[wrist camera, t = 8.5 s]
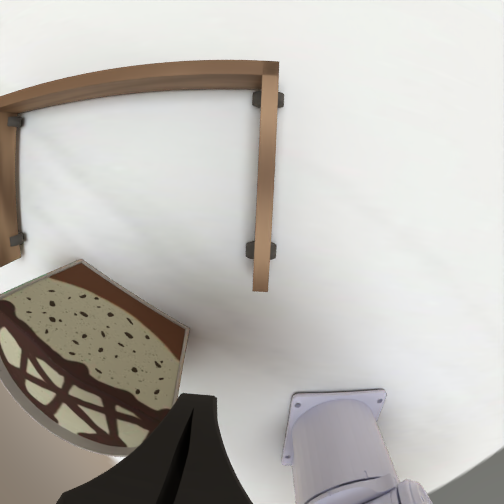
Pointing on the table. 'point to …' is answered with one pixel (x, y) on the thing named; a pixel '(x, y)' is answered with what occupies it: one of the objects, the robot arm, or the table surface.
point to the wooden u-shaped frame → (145, 80)
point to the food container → (90, 358)
